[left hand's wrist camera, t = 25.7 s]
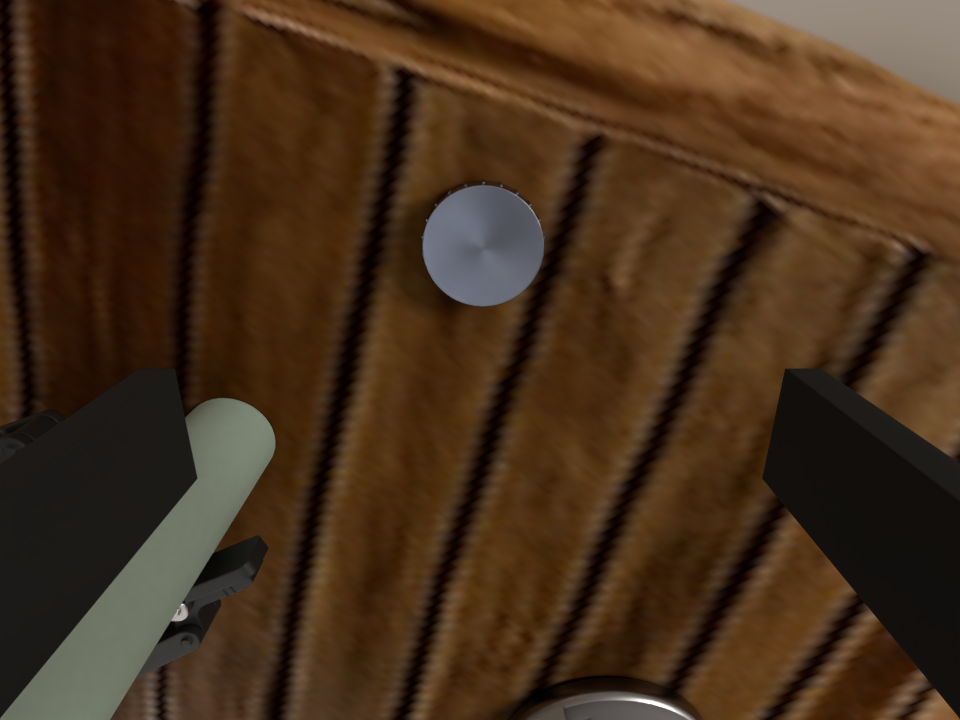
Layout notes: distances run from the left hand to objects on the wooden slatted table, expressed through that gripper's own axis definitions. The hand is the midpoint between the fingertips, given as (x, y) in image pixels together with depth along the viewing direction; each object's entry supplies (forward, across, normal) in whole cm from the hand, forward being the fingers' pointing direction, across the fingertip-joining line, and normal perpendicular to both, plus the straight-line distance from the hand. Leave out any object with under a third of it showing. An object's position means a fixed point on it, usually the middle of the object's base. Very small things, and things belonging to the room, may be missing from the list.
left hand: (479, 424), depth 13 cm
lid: (+15, 0, -1) cm, 15 cm away
